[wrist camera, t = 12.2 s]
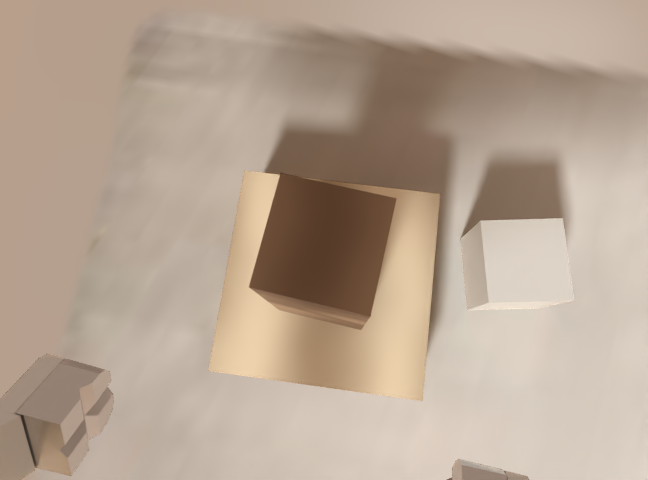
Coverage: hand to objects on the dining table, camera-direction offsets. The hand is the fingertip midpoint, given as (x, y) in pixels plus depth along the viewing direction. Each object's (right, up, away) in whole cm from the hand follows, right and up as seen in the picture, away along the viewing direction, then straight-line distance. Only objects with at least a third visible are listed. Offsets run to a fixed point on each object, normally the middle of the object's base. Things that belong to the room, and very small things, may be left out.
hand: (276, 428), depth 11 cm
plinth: (+1, +2, +17) cm, 17 cm away
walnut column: (+1, +2, +13) cm, 13 cm away
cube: (+11, +2, +16) cm, 20 cm away
